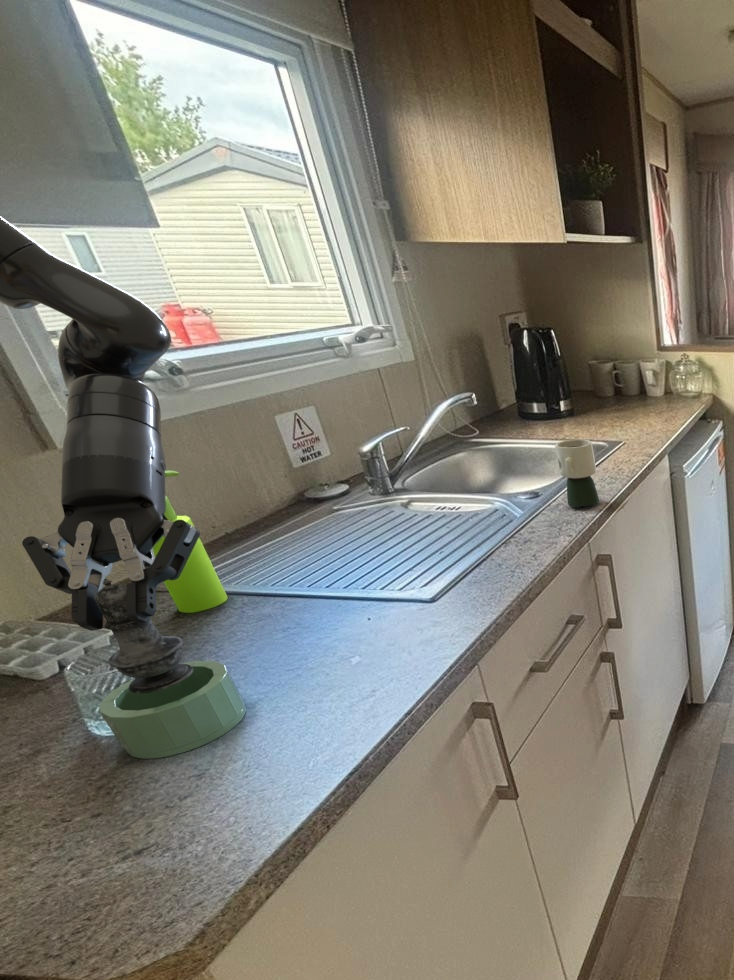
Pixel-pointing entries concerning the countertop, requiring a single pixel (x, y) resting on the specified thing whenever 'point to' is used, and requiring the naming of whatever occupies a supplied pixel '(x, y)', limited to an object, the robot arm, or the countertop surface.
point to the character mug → (578, 471)
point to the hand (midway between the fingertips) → (115, 623)
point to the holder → (175, 713)
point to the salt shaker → (140, 645)
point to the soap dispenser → (193, 573)
